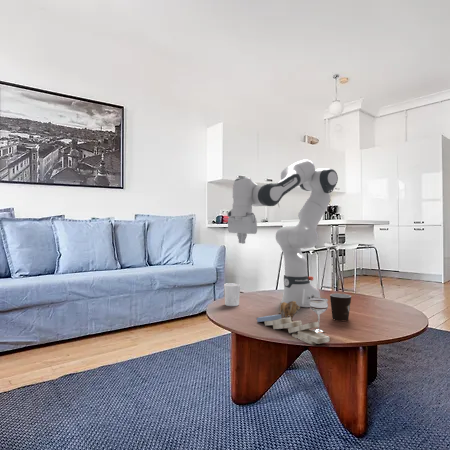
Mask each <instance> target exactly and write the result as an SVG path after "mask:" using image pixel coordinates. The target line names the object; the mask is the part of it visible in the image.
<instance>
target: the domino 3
mask: <svg viewBox="0 0 450 450" xmlns="http://www.w3.org/2000/svg"><path fill="white" fill-rule="evenodd" d="M301 325H303V323H302V320H295V321H294V320H293V321H292V322H288V323H284V324H277V325H272V328H273V330H281V329H289V328H293V327H297V326H301Z"/></svg>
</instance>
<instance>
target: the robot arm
mask: <svg viewBox="0 0 450 450" xmlns="http://www.w3.org/2000/svg"><path fill="white" fill-rule="evenodd" d="M338 180H339V177H338V174H337V172H336V170H334V169H332V168H325V167H324V168H317V169H316V167H315V164H314V163H313V162H312V161H311V160H309V159H302V160H298V161H296V162H293V163H292V164H290V165H287V167H285V168H284V169H283V170H281V173H280V180H279V181H278V182H276V183H275V182H273V183H271V182H270V183H266V184H261V185H259V184H258V183H256V182H254V181H253V180H252V179H251V177H249V176H246V177H239V178H236V179H235V180H234V181H233V184H232V186H233V187H232V199H233V201H232V208H231V210H229V211H228V212H227V218H228V219H227V231H228V233H229V234H236V237H237V239H238V244H242V245H243V244H246V238H247V236H248V234H250V235H255V234H257V232H258V222H257V218H256V215H255V213H254V212H253V207H273V206H277V205H278V204H279V203H280V201H281V200H282V198H283V197H284V196H285V195H287V194H288V193H289V192H291V191H292V190H293V189H295V188H297V187H300V189H301V190H303V191H306V192H311V193H310V196H309V197H308V199H307V200H306V201H305V203H304V204H303V206H302V207H301V209H300V210H299V212H298V215H297V216H298V220H299V222H298V223H297V225H294V226H293V225H286V226H282V227H280V228H278V229H277V231H276V233H275V240H276V243H277V244H278V245H279V247H280V249H281V251H282V254H283V258H284V275H283V294H282V299H281V301H280V303H283V302H285V303H289V302H291V301H295V302H296V304H297V305H298V306H299V307H300V308H301V307H302V308H310V302H311V300H310V298H314V297H318V298H321V293H320V290H319V289H317V288H316V287H315V286H314V285H313V284H312V283H311V282H310V281H314V279H315V278H314V276H310V275H308V260H307V258H306V257H305V256H304V254H303V252H302V250H303V249H304V250H306V249H311V248H314V247H316V246H317V245H318V242H319V233H318V231H317V228H318V225H319V222H320V221H321V220H322V218H323V216H324V214H325V213H326V210H327V209H328V207H329V205H330V202H331V193H332V192H333V191H334V189H335V188H336V186H337V185H338V184H337V183H338Z"/></svg>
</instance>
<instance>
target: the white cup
mask: <svg viewBox="0 0 450 450" xmlns="http://www.w3.org/2000/svg"><path fill="white" fill-rule="evenodd" d="M223 285H224V287H223V288H224V304H225V306H227V307H238V306H239V305H240V295H241V284H240V283H236V282H235V283H234V282H233V283H232V282H231V283H230V282H228V283H224V284H223Z"/></svg>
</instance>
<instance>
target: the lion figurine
mask: <svg viewBox="0 0 450 450" xmlns="http://www.w3.org/2000/svg"><path fill="white" fill-rule="evenodd" d="M280 303H281V302H280ZM279 309H280V310H279V311H280V312H279V313H278V315H279V314H281V318H289V317H291V320H292V321H294V320H293V317H294V316H295V314H296V313H297V312H299V311H300V309H301V307H299V306H298V305H297V304H296V302H295V301H291V302H289V303H285V302H283V303H281V304H280V307H279Z"/></svg>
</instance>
